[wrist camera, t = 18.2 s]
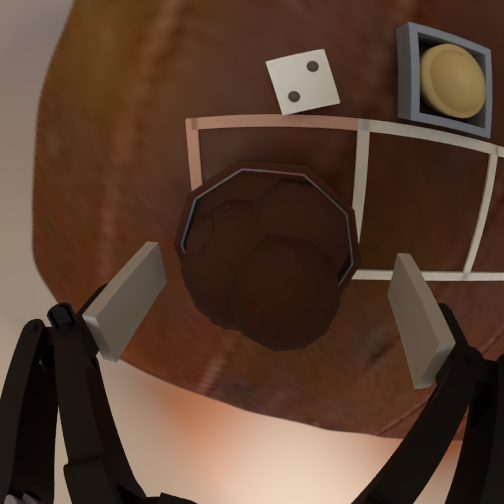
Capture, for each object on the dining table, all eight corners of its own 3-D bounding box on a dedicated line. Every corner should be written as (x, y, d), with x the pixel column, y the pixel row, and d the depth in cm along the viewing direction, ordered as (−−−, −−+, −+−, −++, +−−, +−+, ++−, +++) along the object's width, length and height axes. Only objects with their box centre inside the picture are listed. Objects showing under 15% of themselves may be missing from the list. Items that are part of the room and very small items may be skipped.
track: (186, 118, 22) (185, 118, 22) (565, 170, 17) (566, 171, 16) (202, 271, 30) (202, 272, 29) (535, 278, 24) (536, 279, 24)
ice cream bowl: (323, 125, 21) (371, 160, 8) (344, 247, 26) (378, 381, 13) (199, 154, 24) (95, 225, 11) (235, 265, 29) (192, 395, 16)
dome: (408, 41, 16) (435, 30, 12) (466, 58, 15) (499, 55, 11) (410, 107, 19) (437, 111, 14) (466, 120, 18) (500, 129, 14)
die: (269, 68, 20) (265, 61, 16) (318, 57, 19) (323, 48, 15) (284, 113, 21) (282, 115, 18) (332, 103, 20) (340, 103, 17)
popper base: (395, 29, 16) (408, 21, 13) (472, 52, 15) (490, 49, 12) (397, 117, 20) (410, 120, 17) (472, 133, 19) (489, 138, 16)
